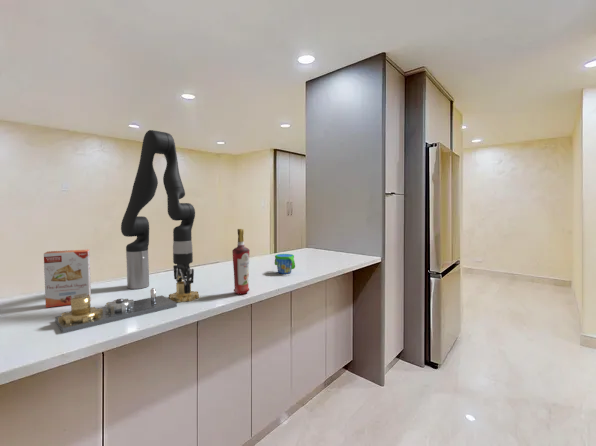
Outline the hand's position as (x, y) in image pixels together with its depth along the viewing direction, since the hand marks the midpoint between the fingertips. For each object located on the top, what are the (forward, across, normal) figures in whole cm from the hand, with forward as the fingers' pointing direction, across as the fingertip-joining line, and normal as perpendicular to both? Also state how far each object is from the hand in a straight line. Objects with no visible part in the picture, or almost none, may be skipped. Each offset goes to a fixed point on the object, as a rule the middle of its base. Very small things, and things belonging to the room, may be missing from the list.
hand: (183, 291), depth 131 cm
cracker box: (+3, -25, -35) cm, 43 cm away
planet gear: (+3, 0, 0) cm, 3 cm away
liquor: (+3, +11, +21) cm, 24 cm away
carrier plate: (+3, +2, -24) cm, 25 cm away
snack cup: (+3, -6, +62) cm, 62 cm away
